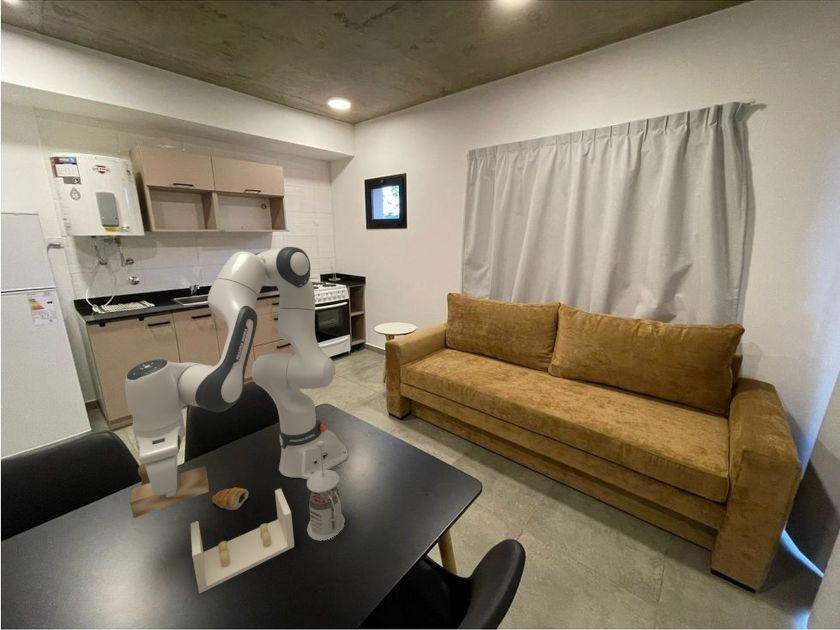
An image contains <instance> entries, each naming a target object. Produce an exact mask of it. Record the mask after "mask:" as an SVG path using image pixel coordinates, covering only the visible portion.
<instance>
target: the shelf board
mask: <svg viewBox="0 0 840 630" xmlns="http://www.w3.org/2000/svg"><path fill="white" fill-rule="evenodd" d="M131 491H132V492H131V495H130V496H131V497H130V508H131V511H132V516H133V519H136V518H138V517H141V516H144V515H147V514H149V513H152V512H155V511H158V510H160V509H163V508H166V507H169V506H172V505H175V504H178V503H180V502H184V501H186V500H188V499H192V498H195V497H197V496H200V495H203V494H206V493H209V492H210V489H209V480H208V472H207V467H206V465H204V466H200V467H197V468H193V469H190V470H187V471H184V472H181V473H177V489H176V494H175V495H173V496H170V497H166V494H164V495H161V496H157V495H155V493H154V492H153V489H152V486H151V484H150V483H149V484H146V485H142V484H141V485H139V486H136V487H134V488H132V490H131Z"/></svg>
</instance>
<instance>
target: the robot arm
mask: <svg viewBox="0 0 840 630" xmlns="http://www.w3.org/2000/svg"><path fill="white" fill-rule="evenodd" d="M311 271H312V270H311V261H310V259H309V256H308V254H307V253H306V252H305V250H303V249H301V248H299V247H295V246H285V247H278V248H270V249H268V250H264V251H262V252H257V253H252V252H249V251H245V250H243V251H237V252H235V253H233V254H232V255H231V256H230V258H229V259H227V261H226V262H225V264H224V265H223V266H222V268H221V270H220V271H219V272H218V274H217V276H216V278H215V279H214V281H213V284H212V285H211V287H210V290H209V291H208V295H207V304H208V307H209V309H210V310H211V312H212V313H213V314H214V315H215V316H216V317H217V318H219V319H220V320H221V321H223V322H224V323H225V324H226V326H227V329H228V330H227V331H228V333H227V337H226V340H225V343H224V347H223V349H222V350H223V351H222V353H221V356H220V360H219V362H218V363H217V364H216V365H209V364H204V363H201V362H200V363H199V362H192V361H186V362H173V361H168V359H161V358H158V359H152V360H147V361H144V362H141V363H139V364H137V365H135V366H134V367H132V368H131V369H130V370H128V372H127V373H126V377H125V381H124V390H125V391H124V392H125V398H126V399H125V400H126V404H127V408H128V412H129V413H130V414H131V416H132V426H131V427H132V432H133V436H134V440H135V444H136V448H137V450H138V456H139V457H138V458H139V462H140V465H142V464H145V467H146V471H147V474H148V477H149V480H150V484H151V486H152V489H153V492H154V493H155V495H157V496H161V495H164V494H166V497H170V496H173V495H175V494H176V489H177V474H178V454H180V449H181V444H182V441H183V439H184V437H185V436H186V433H187V431H186V426H185V421H184V414H183V408H184V407H186V406H188V405H189V406H193V407H200V408H202V409H204V410H207V411H210V412H213V413H221V412H224V411H227V410H228V409H230V408H231V407H232V406H234V405H235V404H236V403H237V402H238V400H240V398H241V396H242V394H243V392H244V387H245V386H244V385H245V374H246V369H247V366H248V362H249V358H250V354H251V350H252V347H253V343H254V340H255V336H256V330H257V327H258V315H257V312H256V310H255V307H256V302H257V300H258V297H259V295H260V292H261V290H262V288H263V287H265V288H266V287H276V288H277V289H278V292H279V302H278V314H277V315H278V316H277V317H278V319H277V332H278V333H277V334H278V335H279V336H280V338H281V339H283V340H284V341H286V342H288V343H289V344H291V346H292V348H293V353H286V352H285V353H284V352H283V353H281V352H279V353H277V352H276V353H275V352H274V353H269V354H262V355H260V356H258V357H257V358H256V359H255V360H254V362H253V364H252V366H251V378H252V380H253V381H254V383H255V384H256V385H257V386H259V387H261V388H262V389H263V390H264V391H265V392H267V394H268V395H269V396H270V397H271V399H272V400H273V402H274V403H275V406H276V408H277V412H278V416H279V417H278V419H279V425H280V427H279V428H278V429H279V432H278V433H279V435H278V436H279V443H280V446H281V453H280V462H279V464H278V465H279V466H278V471H279V472H280V474H281V475H283V476H285V477H287V478H288V477H289V478H297V479H298V478H299V479H300V478H301V479H304V480H308V479H309V478H310V476H312V475H313V474H314V473H316V472H319V471H322V461H323V470H331V469H332V468H334V467H335V466H338V465H339V464H340V463H343V462H344V461H345V462H346V460H348V457H349V453H348V449H347V448H346V446H345V444H344V443H343V442H341V441H340V440H339V439H338V438H339V437H338V436H337V435H336V434H335V433H334V432H333V431H331V430H330V429H328V427H327V426H326V425H325V424H324V423H322V421H321V420H319V418H317V417H316V404H315V402H314V400H313V398H312V397H311V396H309V395H308V394H306V393H305V392H303V391H302V390H301V389H303V390H309V389H310V390H315V389H320V388H327V387H328V386H329V385H330V384H332V382H333V380H334V378H335V375H336V365H335V363H334V361H333V359H332V358H331V357H330V356H329V355H328V354H326V353H325V352H324V351H323V349H322V348H321V347H320V345H319V343H318V341H317V337H316V329H315V327H316V324H315V323H316V322H315V321H316V320H315V318H316V317H315V315H316V298H315V297H316V296H315V288H314V283H312V281H311V279H310V278H311ZM319 441H324V443H325V446H324V447H322V461H321V448H318V447H317V443H318V442H319Z"/></svg>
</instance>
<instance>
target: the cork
mask: <svg viewBox="0 0 840 630" xmlns="http://www.w3.org/2000/svg"><path fill="white" fill-rule="evenodd" d="M137 473H138V475H139V477H140V478H141V486H142V485H146V484H149V483H150V480H149V477H148V474H147V471H146V467H145V464H140V465H139V467H138V469H137Z"/></svg>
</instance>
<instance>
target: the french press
mask: <svg viewBox="0 0 840 630" xmlns="http://www.w3.org/2000/svg"><path fill="white" fill-rule="evenodd" d="M324 446H325V443H324V441H319V442H318V443H317V447H318V448H321V461H322V447H324ZM339 481H340V476H339V474H338V473H337V471H335V470H331V469H328V470H323V461H322V471H319V472H316V473H314V474H313V475H312V476H310V478H309V479H307V481H306V486H307V489H308V490H310V491H311V492H310V495H309V501H308V507H309V508H308V509H309V517H310V519H309V522H308V524H307V528H306V531H307V534H308V536H309V537H310V538H311V539H313V540H314V541H315V540H316V541H319V542H322V540H323V541H328V540H331V539H333V538H335V537H336V535H339V534H340V533H341V532H342V531H343V530H344V527H345V525H344V523H346V522H345V521H346V519H345V517H344V515H343V514H342V505H341V499H340V498H341V496H340V493H339V489H338V487H337V484H338V483H339ZM341 530H342V531H341ZM340 531H341V532H340ZM339 532H340V533H339ZM334 536H335V537H334ZM332 537H333V538H332ZM330 538H331V539H330ZM327 539H328V540H327Z"/></svg>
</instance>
